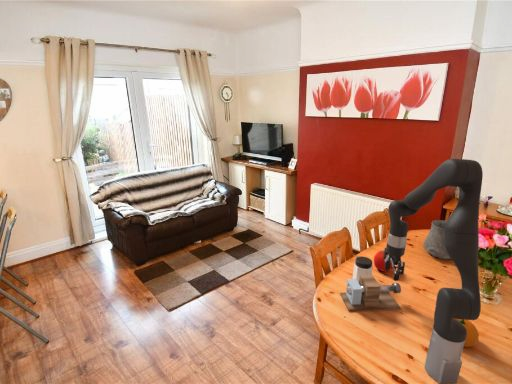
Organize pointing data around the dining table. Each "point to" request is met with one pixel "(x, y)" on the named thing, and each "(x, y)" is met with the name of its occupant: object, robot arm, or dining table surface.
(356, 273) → the jar
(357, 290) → the block
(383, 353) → the dining table surface
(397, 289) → the shaft
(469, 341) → the fruit
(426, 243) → the vessel
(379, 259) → the tomato
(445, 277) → the dining table surface
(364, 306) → the bearing block
